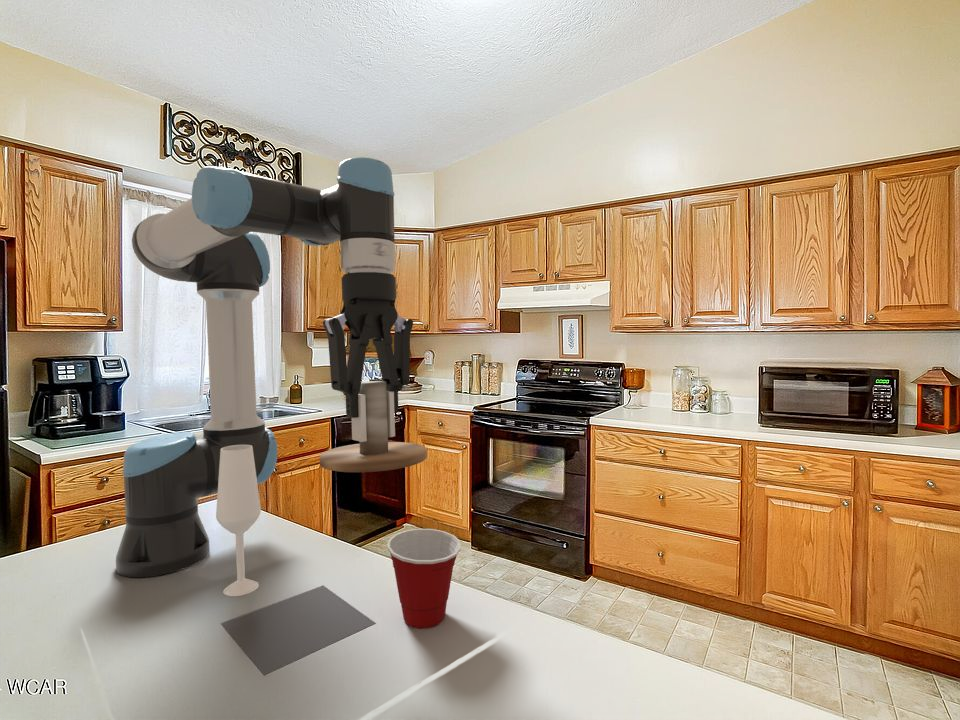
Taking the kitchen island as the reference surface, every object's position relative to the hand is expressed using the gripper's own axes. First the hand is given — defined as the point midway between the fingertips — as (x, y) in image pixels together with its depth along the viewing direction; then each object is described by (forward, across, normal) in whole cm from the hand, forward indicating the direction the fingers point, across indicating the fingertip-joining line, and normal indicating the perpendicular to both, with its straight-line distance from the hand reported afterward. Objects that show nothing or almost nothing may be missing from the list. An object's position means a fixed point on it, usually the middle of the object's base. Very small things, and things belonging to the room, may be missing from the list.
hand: (373, 437), depth 73 cm
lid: (+3, 0, 0) cm, 3 cm away
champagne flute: (+27, -11, +25) cm, 39 cm away
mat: (+27, -9, +8) cm, 30 cm away
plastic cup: (+28, +6, -4) cm, 29 cm away
